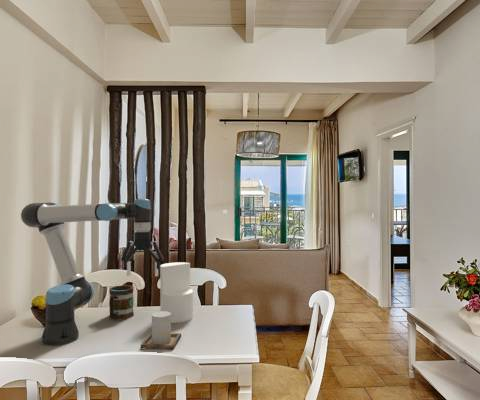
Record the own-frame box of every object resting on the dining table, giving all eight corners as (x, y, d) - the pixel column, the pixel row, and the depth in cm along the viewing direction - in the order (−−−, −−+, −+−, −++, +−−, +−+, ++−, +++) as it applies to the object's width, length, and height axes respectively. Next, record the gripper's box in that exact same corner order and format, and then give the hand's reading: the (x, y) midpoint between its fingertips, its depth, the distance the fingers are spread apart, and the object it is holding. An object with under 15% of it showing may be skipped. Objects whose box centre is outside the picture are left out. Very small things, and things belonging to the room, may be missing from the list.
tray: (140, 348, 154) (140, 344, 154) (151, 336, 168) (151, 332, 168) (173, 349, 152) (173, 345, 153) (181, 337, 166) (181, 333, 166)
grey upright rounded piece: (166, 345, 155) (166, 317, 155) (148, 344, 157) (148, 316, 157) (173, 338, 163) (173, 311, 163) (156, 337, 165) (156, 310, 165)
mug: (115, 311, 206) (115, 284, 206) (138, 312, 204) (138, 285, 204) (98, 323, 186) (98, 293, 186) (123, 323, 185) (123, 294, 185)
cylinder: (154, 317, 196) (154, 264, 196) (181, 310, 207) (181, 261, 207) (171, 325, 183) (171, 269, 183) (199, 317, 194) (199, 265, 195)
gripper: (113, 231, 171) (114, 276, 171) (165, 231, 169) (166, 277, 169) (120, 230, 179) (120, 273, 179) (170, 230, 177) (170, 274, 177)
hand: (142, 275), depth 174 cm, fingers open, 13 cm apart
